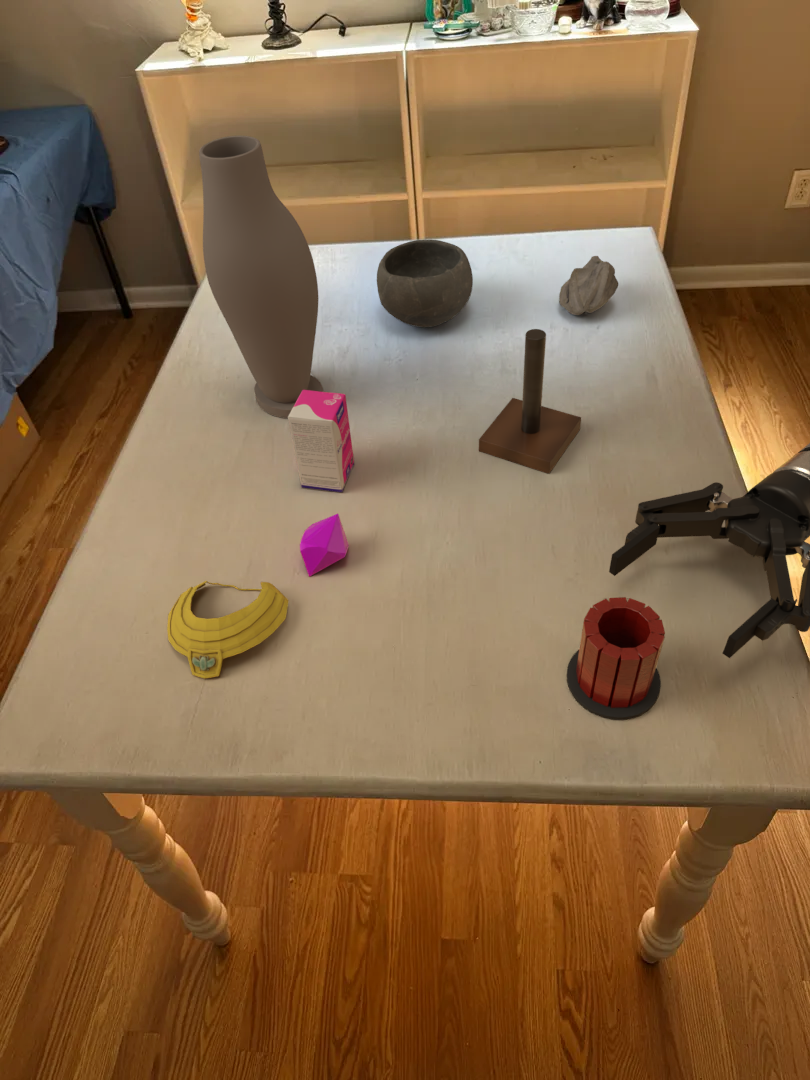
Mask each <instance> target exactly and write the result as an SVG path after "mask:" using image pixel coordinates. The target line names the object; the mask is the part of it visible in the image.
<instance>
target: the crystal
mask: <svg viewBox="0 0 810 1080" xmlns="http://www.w3.org/2000/svg"><path fill="white" fill-rule="evenodd" d="M349 546H350V544H349V541H348V538H347V535H346V531H345V529H344V526H343V524H342V520H341V518H340V515H339V513H336V514H332V515H331V516H328V517H325V518H323V519H320V520H319V521H316V522H314V523H312V524H310V525H309V526H307V528H306V529H304V532H303V533H302V536H301V538H300V543H299V551H300V555H301V558H302V560H303V563H304V566H305V569H306V572H307V574H308V577H309V578H311V576H313V575H315V574H317V573H319V572H320V571H322V570H324V569H326V568H328V567H330V566H332V565H333V564H335V563H337V562H338V561H340V560H342V559H344V558H345V557H346V556H347V552H348V550H349Z"/></svg>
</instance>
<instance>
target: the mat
mask: <svg viewBox="0 0 810 1080" xmlns="http://www.w3.org/2000/svg"><path fill="white" fill-rule="evenodd" d="M578 655H579V649H578V650H576V651H575V653H574V654H572V657H571V658H570V659H569V662H568V664H567V668H566V682H567V686H568V690H569V692H570V693H571V696H572V697H573V699H574V700H575V701H576V702H577V703H578V704H579V705H580V706H581V707H583V709H585V710H586V711H587V712H589V713H592V714H593V715H595V716H598V717H601V718H604V719H608V720H613V721H614V720H616V721H624V720H625V721H626V720H630V719H634V718H637V717H640V716H641V715H645V713H647V712H649V711H650V710H651V709H652V708H653V706H654V705H655V704H656V702H657V700H658V698H659V695H660V692H661V686H662V685H661V684H662V683H661V682H662V681H661V676H660V672H659V670H658V668H657V667H656V670H655V673H654V677H653V680H652V684H651V687H650V689H649V691H648V693H647V695H646V697H645V696H644V699H643V700H641V701H640V702H638V703H636V704H634V705H633V706H630V705H629V704H628V707H621V708H611V705H610V703H609V705H608V707H607V706H604V705H602V704H600V703H598V702H595V701H593V700H592V698H593V697H591V698H589V697H588V696H587V695H586V694H585V692H584V691H583V690H582V689H581V688H580V684H579V683H578V679H577V673H576V668H577V662H578Z"/></svg>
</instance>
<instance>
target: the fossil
mask: <svg viewBox="0 0 810 1080" xmlns="http://www.w3.org/2000/svg"><path fill="white" fill-rule="evenodd" d="M618 287H619V281H618V279H617V278H616V269H615V267H614V266H613V265H612V264H611V263H610V262H609V261H606V260H605V261H603V260H602V259H601V258H600V257H599V255H593V256H591V258H590V259H589V260H588V261H587V263H585V264H584V265H583V267H575V268H574V269H573V270H572V271H571V275H570V277H569V279H567V280H566V281H565V282H564V283H563V285H562V286H560V290H559V291H560V292H559V296H558V297H559V298H558V299H559V302H558V303H559V304H560V306H561V307H562V308H564V309H565V310H566V311H567V312H568V313H569V314H571V315H574V316H580V315H582V314H584V312H586V313H589V314H592V313H593V312H595V311H597V310H600V309H601V308H602V307H603V306H605V305H606V304H607V303H608V302H609V300H610V299H611V298H612V297H613V296H614V294H615V293H616V291H617V289H618Z"/></svg>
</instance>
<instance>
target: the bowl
mask: <svg viewBox="0 0 810 1080" xmlns="http://www.w3.org/2000/svg"><path fill="white" fill-rule="evenodd" d="M473 285H474V277H473V270H472V266H471V262H470V261H469V258H468V256H467V254H466V253H465V251H464V250H463V249H462V248H461V247H460V246H458V245H455V244H453V243H450V242H446V241H444V240H439V239H415V240H410V241H407V242H404V243H401V244H398V245H396V246H394V247H392V248H390V249H388V251H386V252H385V254H384V255H383V256H382V258H381V259H380V261H379V264H378V267H377V270H376V287H377V294H378V299H379V301H380V304H381V306H382V307H383V309H384V310H385V311H386V312H387V313H388V314H389V315H390V316H392V317H393V318H395V319H396V320H398V321H400V322H401V323H404V324H406V325H409V326H412V327H416V328H417V327H418V328H432V327H436V326H437V327H438V326H440V325H441V324H445V323H446V322H448V321H450V320H452V319H453V318H455V317H456V316H457V315H458V314H460V313H461V312H462V310H463V309H464V308H465V307H466V305H467V303H468V302H469V299H470V297H471V294H472V291H473Z"/></svg>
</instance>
